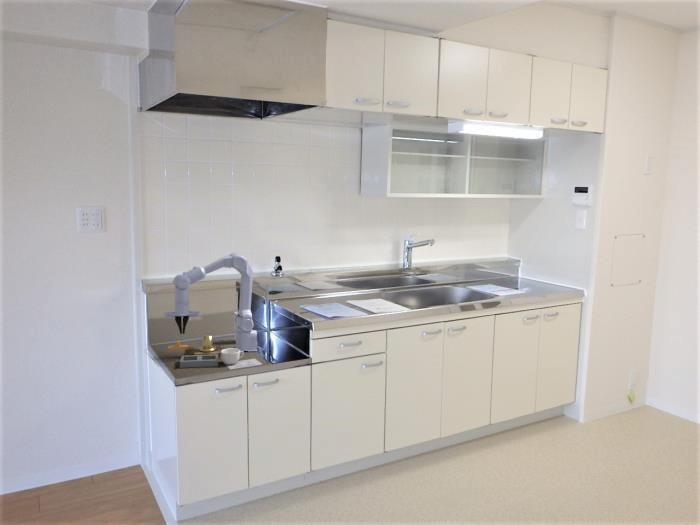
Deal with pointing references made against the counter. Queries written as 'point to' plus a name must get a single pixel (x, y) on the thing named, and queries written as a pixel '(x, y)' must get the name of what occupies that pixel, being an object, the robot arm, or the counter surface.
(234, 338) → the syrup box
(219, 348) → the socket block
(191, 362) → the rack
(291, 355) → the counter surface
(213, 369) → the counter surface
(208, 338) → the brass peg
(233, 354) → the teacup
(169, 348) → the latch bar
